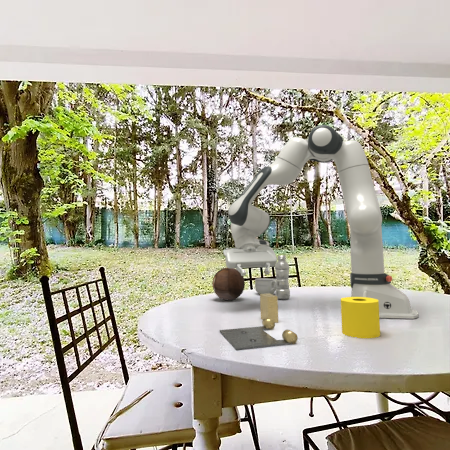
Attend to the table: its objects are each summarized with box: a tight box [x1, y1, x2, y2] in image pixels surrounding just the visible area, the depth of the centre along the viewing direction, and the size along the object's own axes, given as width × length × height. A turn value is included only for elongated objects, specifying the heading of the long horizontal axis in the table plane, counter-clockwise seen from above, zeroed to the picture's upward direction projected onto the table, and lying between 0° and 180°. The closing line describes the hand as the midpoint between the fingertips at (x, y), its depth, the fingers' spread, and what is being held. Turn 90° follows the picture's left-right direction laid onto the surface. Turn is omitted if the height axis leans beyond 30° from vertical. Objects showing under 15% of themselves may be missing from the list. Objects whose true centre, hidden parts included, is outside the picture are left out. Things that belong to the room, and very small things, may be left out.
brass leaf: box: [259, 293, 279, 324], centre depth 113 cm, size 7×4×8 cm, turn 15°
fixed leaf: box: [219, 318, 299, 351], centre depth 93 cm, size 18×16×3 cm
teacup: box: [254, 277, 277, 295], centre depth 167 cm, size 14×11×8 cm
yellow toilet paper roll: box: [340, 296, 381, 339], centre depth 95 cm, size 10×10×9 cm
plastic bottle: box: [274, 254, 291, 301], centre depth 153 cm, size 6×7×20 cm
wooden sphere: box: [211, 266, 246, 301], centre depth 154 cm, size 15×15×15 cm
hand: (255, 274), depth 125 cm, fingers open, 8 cm apart
